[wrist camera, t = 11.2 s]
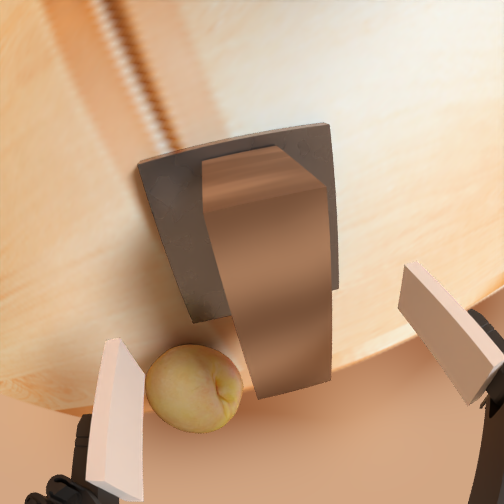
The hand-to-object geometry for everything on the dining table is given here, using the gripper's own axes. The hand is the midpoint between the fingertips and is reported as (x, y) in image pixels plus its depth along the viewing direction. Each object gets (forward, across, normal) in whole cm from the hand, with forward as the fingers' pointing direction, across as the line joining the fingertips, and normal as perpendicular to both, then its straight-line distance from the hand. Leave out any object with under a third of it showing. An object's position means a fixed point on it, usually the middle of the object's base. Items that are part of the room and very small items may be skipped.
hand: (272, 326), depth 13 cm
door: (+8, +1, 0) cm, 9 cm away
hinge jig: (+10, +1, 0) cm, 10 cm away
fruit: (+10, -7, -11) cm, 17 cm away
